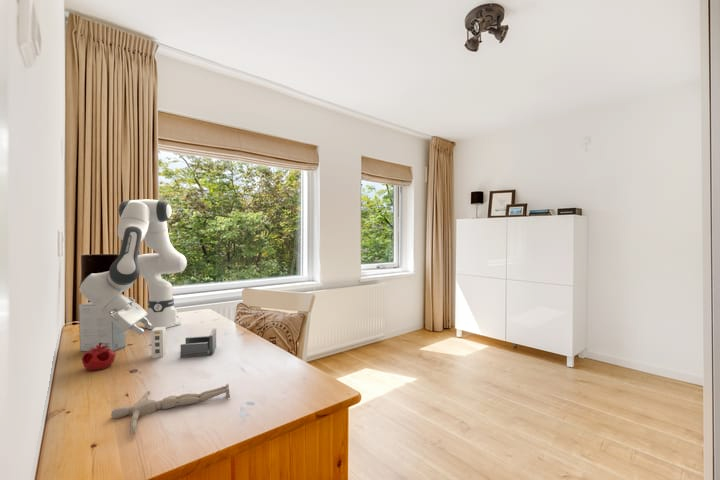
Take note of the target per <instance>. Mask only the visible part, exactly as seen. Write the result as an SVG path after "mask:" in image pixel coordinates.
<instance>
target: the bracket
mask: <svg viewBox="0 0 720 480" xmlns="http://www.w3.org/2000/svg"><path fill="white" fill-rule="evenodd" d="M211 330H212V331H211V332H210V334H209V335H203V336H201V335H200V336H191V337H190V336H189V337H185V343H181V344H180V345H179V347H180V358H192V357H193V358H194V357H203V356H205V357H206V356H213V355H214V353H215V351H216V349H217V328H212V329H211Z"/></svg>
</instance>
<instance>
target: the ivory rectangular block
mask: <svg viewBox="0 0 720 480" xmlns="http://www.w3.org/2000/svg"><path fill="white" fill-rule="evenodd" d="M166 354H167V328H166V327H155V328H154V329H151V358H152V359H155V358H164V357H165V355H166Z"/></svg>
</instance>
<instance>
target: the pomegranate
mask: <svg viewBox="0 0 720 480" xmlns="http://www.w3.org/2000/svg"><path fill="white" fill-rule="evenodd" d="M101 344H102V342H101V343H99V347H98V345H96V348H92V349H91V350H89V351H84V353H83V355H82V357H81V363H82V366H83V368H84V369H85V370H87V371H98V370H99V371H100V370H105V369H107V368H109V367H111V366H112V364H113V363H114V361H115V358H116V352H115V351H113V350H111V349H109V348H105V347H110V346H106V345H105V347H104V346H103V347H101ZM89 349H90V348H89Z"/></svg>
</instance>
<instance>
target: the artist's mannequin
mask: <svg viewBox="0 0 720 480" xmlns="http://www.w3.org/2000/svg"><path fill="white" fill-rule="evenodd" d="M229 385H230V384H229V383H226V384H225V385H224V386H221V387H217V388H212V389H209V390H205V391H202V392H200V393H184V394H181V395H170V396H167V397H163V399H162V400H154V399H149V398H148V396H149V395H150V393H151V390H147V391H146V392H145V393H144V395H143V397H142V398H141V399H140V400H138V402H137V403H134V404H133V406H132V407H131V406H118V407H116V408H113V410H112V411H111V413H110V415H111V418H112V419H114V420H115V419H120V418H124V417H126V416H128V415H130V414H132V416H131V422H130V431H131V434H132V435H136V432H137V431H136V428H137V422H138V419H139V417H142V416H146V415H149V414H152V413H154V412H156V410H157V411H158V410H161V409H162V410H169V409H171V408H174V407H176V406H177V405H179V406H185V405H191V404H196V403H200V402H205V401H208V400H211V399H213V398H215V397H217V396H218V397H219V396H220V395H223V394H225V396H226V398H230V386H229ZM148 394H149V395H148ZM151 412H152V413H151ZM148 413H149V414H148Z"/></svg>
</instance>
